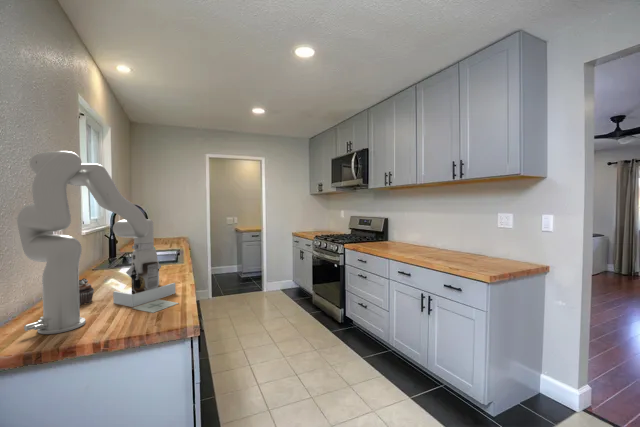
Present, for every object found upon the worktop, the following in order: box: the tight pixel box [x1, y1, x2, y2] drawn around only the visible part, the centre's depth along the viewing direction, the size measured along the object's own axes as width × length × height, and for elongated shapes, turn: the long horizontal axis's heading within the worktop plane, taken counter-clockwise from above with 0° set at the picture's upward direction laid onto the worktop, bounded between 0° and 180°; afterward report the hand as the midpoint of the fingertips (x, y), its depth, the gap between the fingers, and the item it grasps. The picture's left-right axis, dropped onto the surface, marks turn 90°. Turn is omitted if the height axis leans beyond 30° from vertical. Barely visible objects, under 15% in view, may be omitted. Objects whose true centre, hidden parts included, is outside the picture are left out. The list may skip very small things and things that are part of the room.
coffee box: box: [131, 261, 159, 294], centre depth 137 cm, size 9×6×16 cm
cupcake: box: [79, 277, 95, 306], centre depth 131 cm, size 10×10×10 cm
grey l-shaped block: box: [112, 282, 176, 308], centre depth 137 cm, size 21×12×5 cm, turn 156°
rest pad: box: [131, 298, 180, 314], centre depth 126 cm, size 12×12×1 cm
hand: (144, 285), depth 138 cm, fingers closed on coffee box, 6 cm apart
